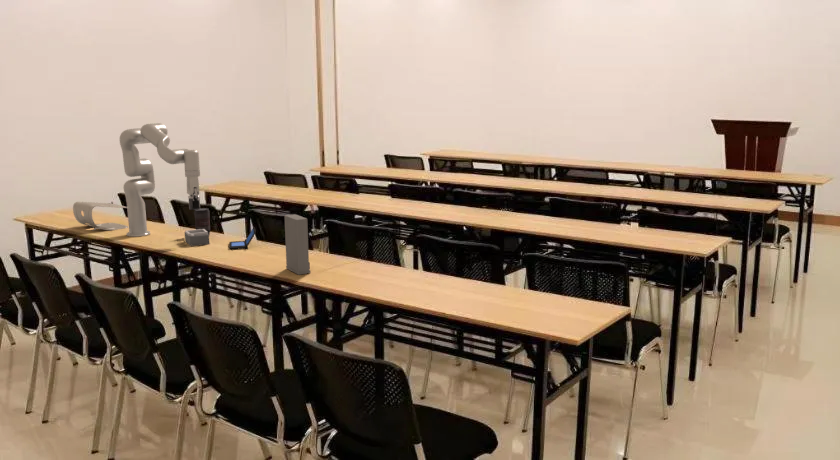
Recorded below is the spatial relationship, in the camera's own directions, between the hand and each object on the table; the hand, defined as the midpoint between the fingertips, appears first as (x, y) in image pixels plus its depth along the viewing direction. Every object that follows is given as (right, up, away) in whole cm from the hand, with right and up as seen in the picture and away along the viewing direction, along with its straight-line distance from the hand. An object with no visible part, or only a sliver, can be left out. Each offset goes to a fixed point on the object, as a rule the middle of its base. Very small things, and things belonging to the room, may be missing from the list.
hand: (194, 207), depth 382 cm
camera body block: (0, -19, +4) cm, 19 cm away
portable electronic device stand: (-69, -11, +47) cm, 84 cm away
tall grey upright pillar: (+65, -31, -57) cm, 92 cm away
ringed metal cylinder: (0, -1, 0) cm, 1 cm away
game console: (+27, -21, -5) cm, 35 cm away
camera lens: (-2, -16, +23) cm, 28 cm away
